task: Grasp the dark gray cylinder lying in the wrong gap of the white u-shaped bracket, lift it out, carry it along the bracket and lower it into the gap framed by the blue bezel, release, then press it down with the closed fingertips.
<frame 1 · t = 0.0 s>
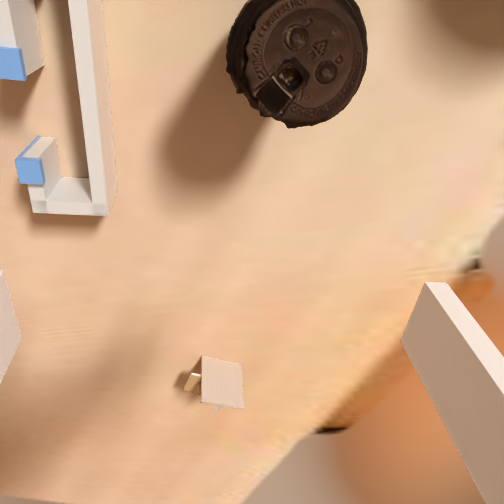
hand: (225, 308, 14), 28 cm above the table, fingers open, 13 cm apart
white u-shaped bracket: (65, 40, 33), on the table
coffee cup: (272, 33, 35), on the table
architectural model: (219, 360, 57), on the table
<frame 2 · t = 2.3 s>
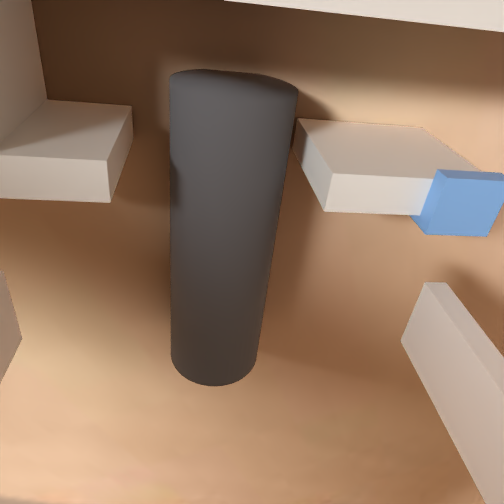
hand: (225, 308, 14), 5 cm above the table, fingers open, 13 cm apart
white u-shaped bracket: (387, 71, 15), on the table
dark gray cylinder: (209, 219, 18), on the table, tilted 14°
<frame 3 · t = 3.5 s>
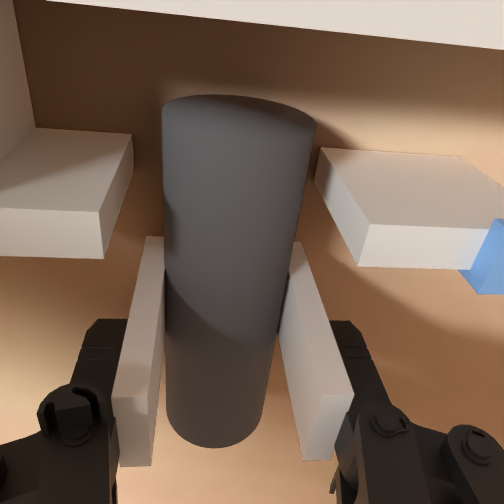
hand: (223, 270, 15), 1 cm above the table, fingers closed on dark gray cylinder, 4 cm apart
white u-shaped bracket: (425, 94, 13), on the table
dark gray cylinder: (224, 258, 16), on the table, touching gripper
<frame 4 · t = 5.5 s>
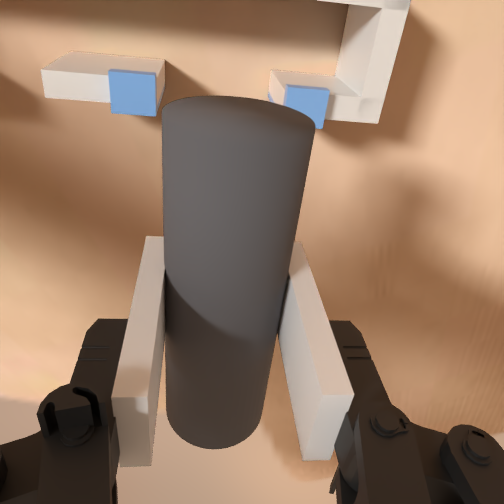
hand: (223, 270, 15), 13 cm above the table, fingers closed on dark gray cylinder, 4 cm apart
white u-shaped bracket: (125, 16, 22), on the table
dark gray cylinder: (224, 259, 16), point 13 cm above the table, touching gripper
when the fingers open (2 cm above the table, at t = 7.6 s): dark gray cylinder drops 2 cm, on the table.
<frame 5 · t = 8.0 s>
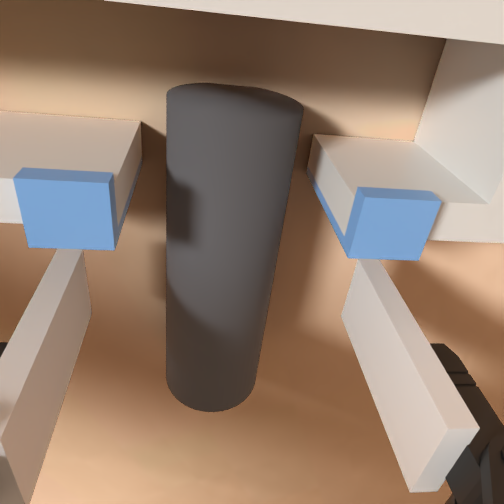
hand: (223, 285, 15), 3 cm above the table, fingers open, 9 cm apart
white u-shaped bracket: (70, 53, 13), on the table
dark gray cylinder: (222, 237, 17), on the table
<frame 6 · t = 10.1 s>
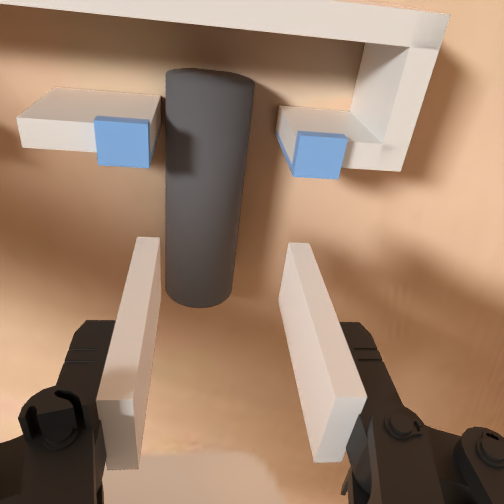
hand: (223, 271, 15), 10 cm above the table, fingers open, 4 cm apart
white u-shaped bracket: (116, 49, 20), on the table
dark gray cylinder: (217, 183, 24), on the table, tilted 22°
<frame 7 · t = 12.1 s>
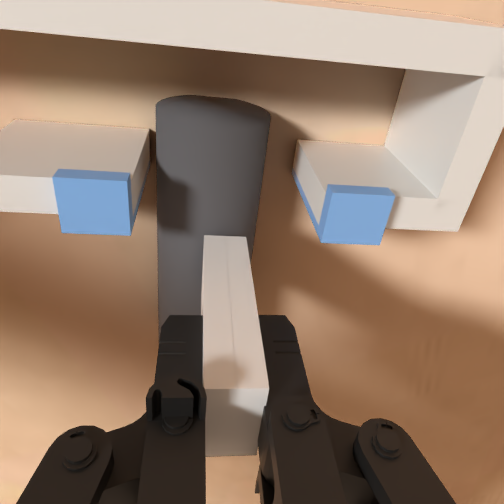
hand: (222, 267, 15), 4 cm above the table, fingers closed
white u-shaped bracket: (91, 73, 15), on the table
dark gray cylinder: (220, 230, 20), on the table, tilted 21°
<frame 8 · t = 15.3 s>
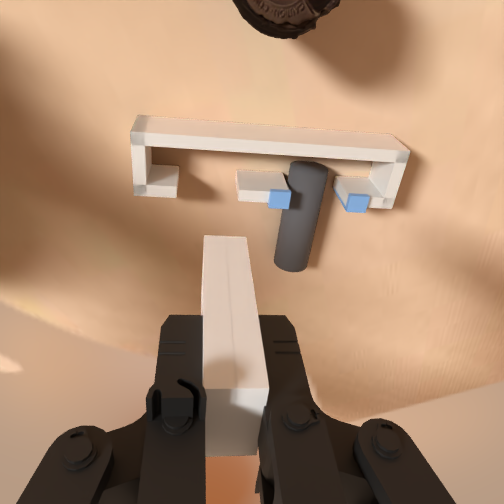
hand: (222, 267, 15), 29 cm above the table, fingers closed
white u-shaped bracket: (266, 154, 44), on the table
dark gray cylinder: (302, 210, 48), on the table, tilted 23°
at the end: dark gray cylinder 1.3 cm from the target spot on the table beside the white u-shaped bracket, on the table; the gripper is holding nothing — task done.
